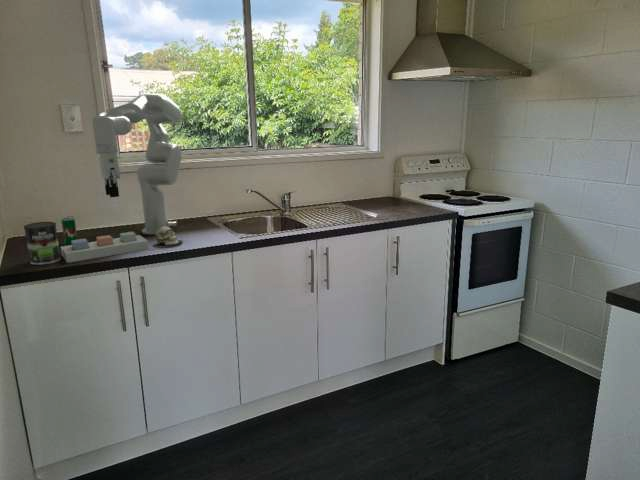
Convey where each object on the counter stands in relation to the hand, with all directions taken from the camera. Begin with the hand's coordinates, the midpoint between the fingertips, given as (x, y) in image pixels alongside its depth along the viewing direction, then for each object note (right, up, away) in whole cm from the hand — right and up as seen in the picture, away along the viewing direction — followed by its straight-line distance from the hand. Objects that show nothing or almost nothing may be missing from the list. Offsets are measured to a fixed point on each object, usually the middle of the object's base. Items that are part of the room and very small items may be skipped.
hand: (112, 195), depth 183 cm
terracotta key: (-4, -20, +2) cm, 21 cm away
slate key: (-11, -22, -3) cm, 25 cm away
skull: (+17, -20, +14) cm, 30 cm away
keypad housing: (-4, -22, +3) cm, 23 cm away
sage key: (+3, -19, +8) cm, 21 cm away
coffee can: (-22, -26, -7) cm, 35 cm away
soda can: (-24, -20, +14) cm, 34 cm away
